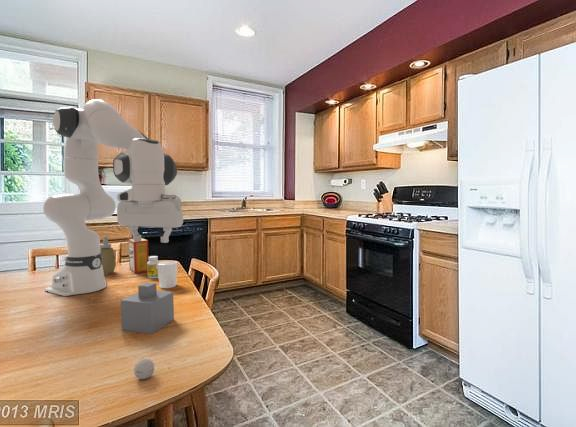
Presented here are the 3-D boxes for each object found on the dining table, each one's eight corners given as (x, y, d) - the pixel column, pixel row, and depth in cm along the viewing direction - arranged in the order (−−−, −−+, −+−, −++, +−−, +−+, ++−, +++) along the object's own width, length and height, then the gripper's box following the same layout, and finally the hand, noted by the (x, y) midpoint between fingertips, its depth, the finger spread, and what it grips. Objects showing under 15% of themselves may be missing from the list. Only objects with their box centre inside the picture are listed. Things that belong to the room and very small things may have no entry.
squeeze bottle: (102, 276, 147) (100, 238, 145) (93, 273, 151) (91, 237, 150) (119, 272, 153) (118, 236, 152) (110, 270, 158) (109, 235, 156)
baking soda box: (129, 270, 158) (128, 238, 157) (143, 267, 162) (142, 237, 161) (135, 273, 151) (133, 241, 150) (149, 271, 155) (148, 239, 154)
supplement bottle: (162, 276, 147) (162, 255, 146) (154, 279, 142) (153, 258, 141) (153, 275, 148) (152, 255, 148) (144, 278, 143) (144, 257, 143)
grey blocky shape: (121, 329, 90) (119, 288, 89) (146, 316, 100) (144, 278, 99) (151, 334, 87) (150, 291, 87) (174, 319, 97) (172, 280, 96)
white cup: (171, 289, 127) (170, 265, 126) (154, 288, 128) (153, 264, 128) (181, 283, 135) (181, 261, 134) (165, 282, 136) (164, 260, 135)
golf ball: (133, 385, 65) (133, 366, 64) (134, 374, 68) (134, 357, 68) (154, 380, 66) (154, 362, 66) (154, 370, 70) (154, 353, 69)
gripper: (186, 194, 91) (188, 241, 92) (128, 194, 96) (130, 238, 97) (173, 194, 85) (175, 245, 86) (112, 194, 90) (114, 242, 91)
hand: (150, 241), depth 92 cm, fingers open, 8 cm apart
